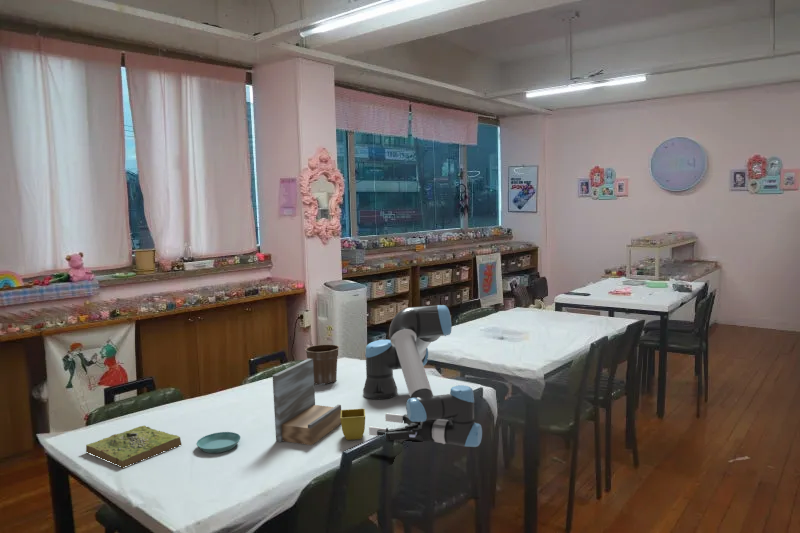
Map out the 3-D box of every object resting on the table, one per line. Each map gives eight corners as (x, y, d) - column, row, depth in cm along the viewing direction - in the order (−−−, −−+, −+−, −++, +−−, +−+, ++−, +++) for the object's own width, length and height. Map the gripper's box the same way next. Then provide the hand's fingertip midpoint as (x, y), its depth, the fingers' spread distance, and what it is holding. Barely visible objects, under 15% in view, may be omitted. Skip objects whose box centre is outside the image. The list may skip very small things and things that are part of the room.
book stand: (343, 422, 223) (340, 361, 221) (310, 446, 201) (306, 378, 199) (311, 418, 228) (308, 358, 226) (276, 441, 206) (272, 375, 204)
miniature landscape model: (122, 470, 188) (121, 455, 188) (85, 454, 202) (84, 440, 201) (182, 446, 206) (181, 433, 205) (144, 433, 219) (143, 421, 219)
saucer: (195, 443, 208) (195, 436, 207) (237, 436, 213) (237, 429, 213) (198, 459, 194) (197, 451, 194) (243, 451, 200) (243, 443, 199)
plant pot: (307, 377, 286) (305, 345, 285) (340, 375, 288) (339, 343, 286) (305, 386, 270) (304, 352, 269) (340, 384, 272) (339, 350, 270)
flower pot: (341, 433, 212) (340, 409, 211) (365, 431, 213) (364, 408, 212) (341, 442, 203) (340, 417, 202) (366, 441, 204) (365, 416, 203)
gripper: (422, 456, 184) (362, 447, 192) (447, 428, 207) (392, 421, 215) (422, 433, 184) (361, 425, 192) (446, 407, 206) (391, 402, 215)
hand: (377, 423), depth 204 cm, fingers open, 13 cm apart
